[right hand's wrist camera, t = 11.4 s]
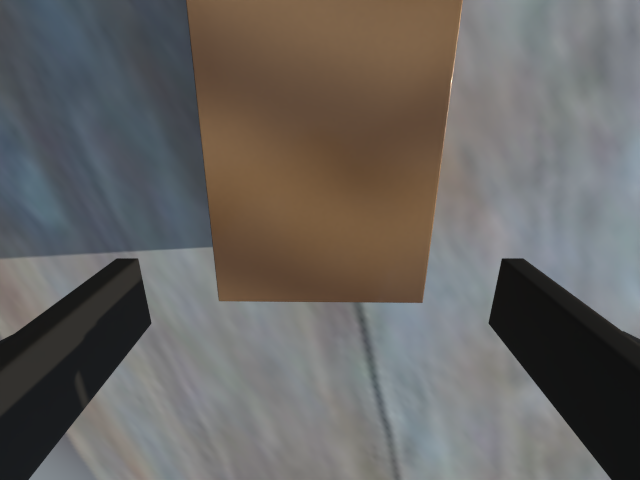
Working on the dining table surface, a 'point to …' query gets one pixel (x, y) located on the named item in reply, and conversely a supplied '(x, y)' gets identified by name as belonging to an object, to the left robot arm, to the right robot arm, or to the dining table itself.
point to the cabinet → (322, 143)
